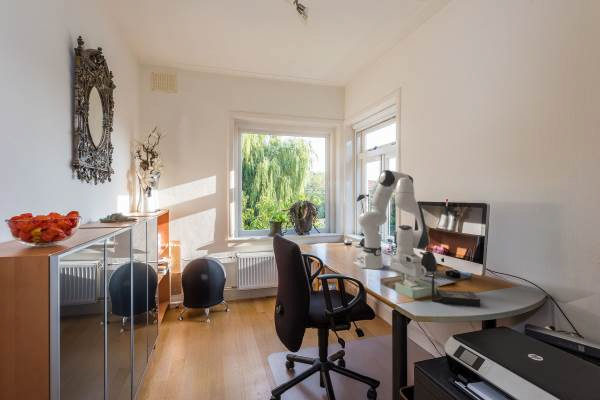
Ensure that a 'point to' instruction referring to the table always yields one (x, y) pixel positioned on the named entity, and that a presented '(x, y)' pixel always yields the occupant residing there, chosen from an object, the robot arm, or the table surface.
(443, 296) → the black rod on base
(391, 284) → the walnut board
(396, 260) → the robot arm
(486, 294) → the table surface
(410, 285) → the tile rear
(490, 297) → the table surface
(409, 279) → the mug
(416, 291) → the tray
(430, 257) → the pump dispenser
